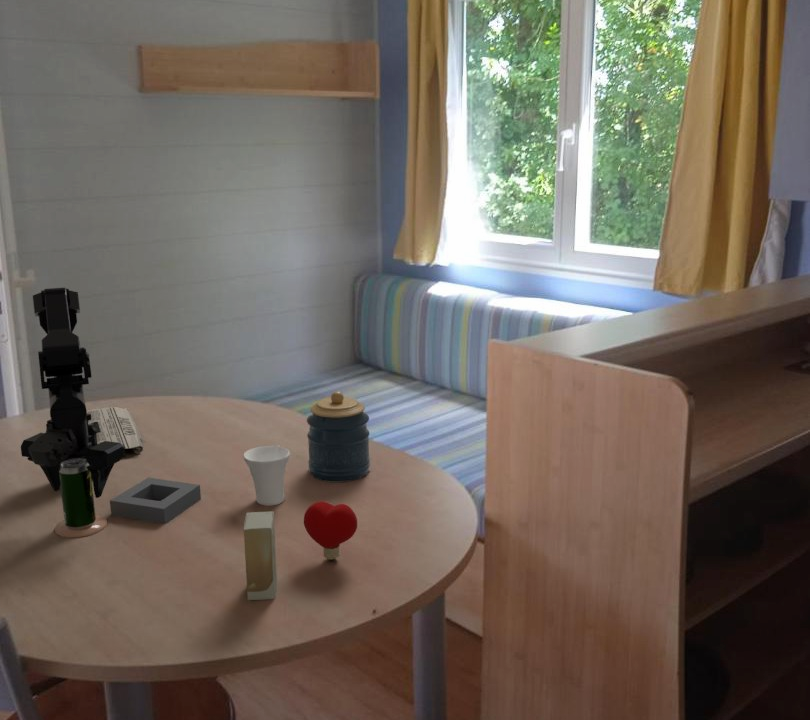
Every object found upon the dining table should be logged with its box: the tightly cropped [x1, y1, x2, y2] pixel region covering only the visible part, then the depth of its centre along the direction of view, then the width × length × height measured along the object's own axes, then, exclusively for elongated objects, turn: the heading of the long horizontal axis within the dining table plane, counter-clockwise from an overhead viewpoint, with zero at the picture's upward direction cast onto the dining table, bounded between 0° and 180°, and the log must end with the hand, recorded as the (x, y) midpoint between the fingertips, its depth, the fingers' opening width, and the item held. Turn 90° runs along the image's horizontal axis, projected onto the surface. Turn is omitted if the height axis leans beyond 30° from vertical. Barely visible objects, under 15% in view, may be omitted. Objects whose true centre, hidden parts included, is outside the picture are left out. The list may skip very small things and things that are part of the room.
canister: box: [306, 390, 371, 483], centre depth 186 cm, size 13×13×18 cm
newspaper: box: [86, 406, 146, 454], centre depth 213 cm, size 35×12×4 cm, turn 26°
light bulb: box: [303, 500, 358, 561], centre depth 149 cm, size 9×7×10 cm
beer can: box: [59, 458, 96, 530], centre depth 162 cm, size 5×5×12 cm
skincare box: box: [243, 510, 278, 601], centre depth 138 cm, size 6×4×12 cm
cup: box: [242, 444, 291, 507], centre depth 173 cm, size 9×9×10 cm
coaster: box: [54, 514, 108, 539], centre depth 163 cm, size 9×9×1 cm
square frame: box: [109, 477, 202, 525], centre depth 171 cm, size 12×12×3 cm
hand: (77, 493), depth 162 cm, fingers open, 9 cm apart
